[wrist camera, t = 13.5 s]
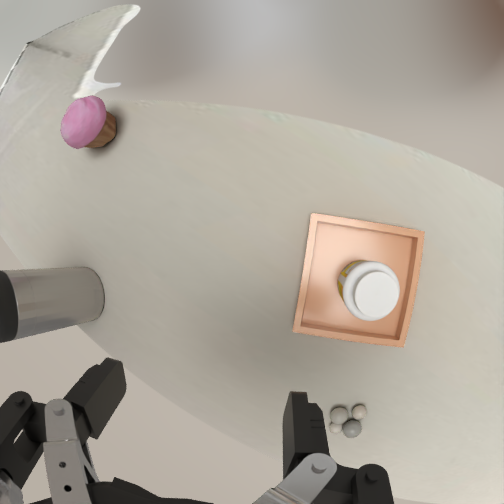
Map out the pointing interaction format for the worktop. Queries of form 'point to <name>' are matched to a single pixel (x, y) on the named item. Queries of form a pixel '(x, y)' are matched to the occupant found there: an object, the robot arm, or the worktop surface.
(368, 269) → the supplement bottle
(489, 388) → the worktop surface
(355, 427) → the pebbles
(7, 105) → the worktop surface
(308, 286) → the terracotta dish
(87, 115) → the cupcake
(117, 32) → the worktop surface
